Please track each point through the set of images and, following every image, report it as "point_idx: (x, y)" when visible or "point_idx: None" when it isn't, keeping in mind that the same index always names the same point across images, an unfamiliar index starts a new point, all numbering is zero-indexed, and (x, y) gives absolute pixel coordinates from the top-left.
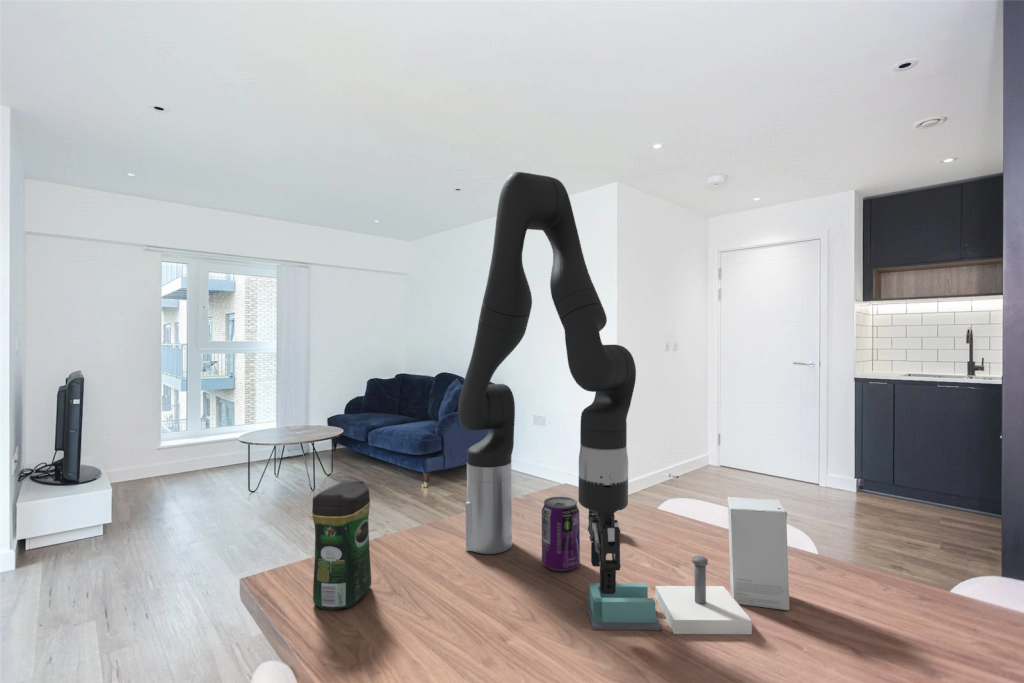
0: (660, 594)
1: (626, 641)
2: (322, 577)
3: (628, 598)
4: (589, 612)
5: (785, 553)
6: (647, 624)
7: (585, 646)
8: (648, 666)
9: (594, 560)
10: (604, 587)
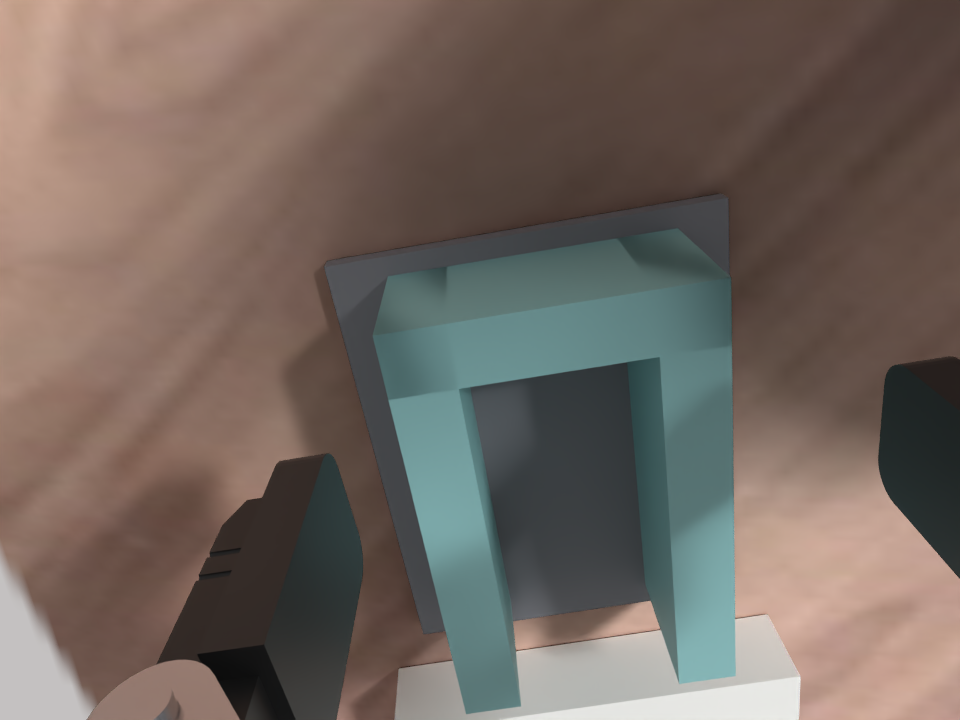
0: (685, 694)
1: (256, 458)
2: None
3: (484, 575)
4: (517, 237)
5: None
6: None
7: (108, 219)
8: (63, 550)
9: (923, 416)
10: (217, 539)
